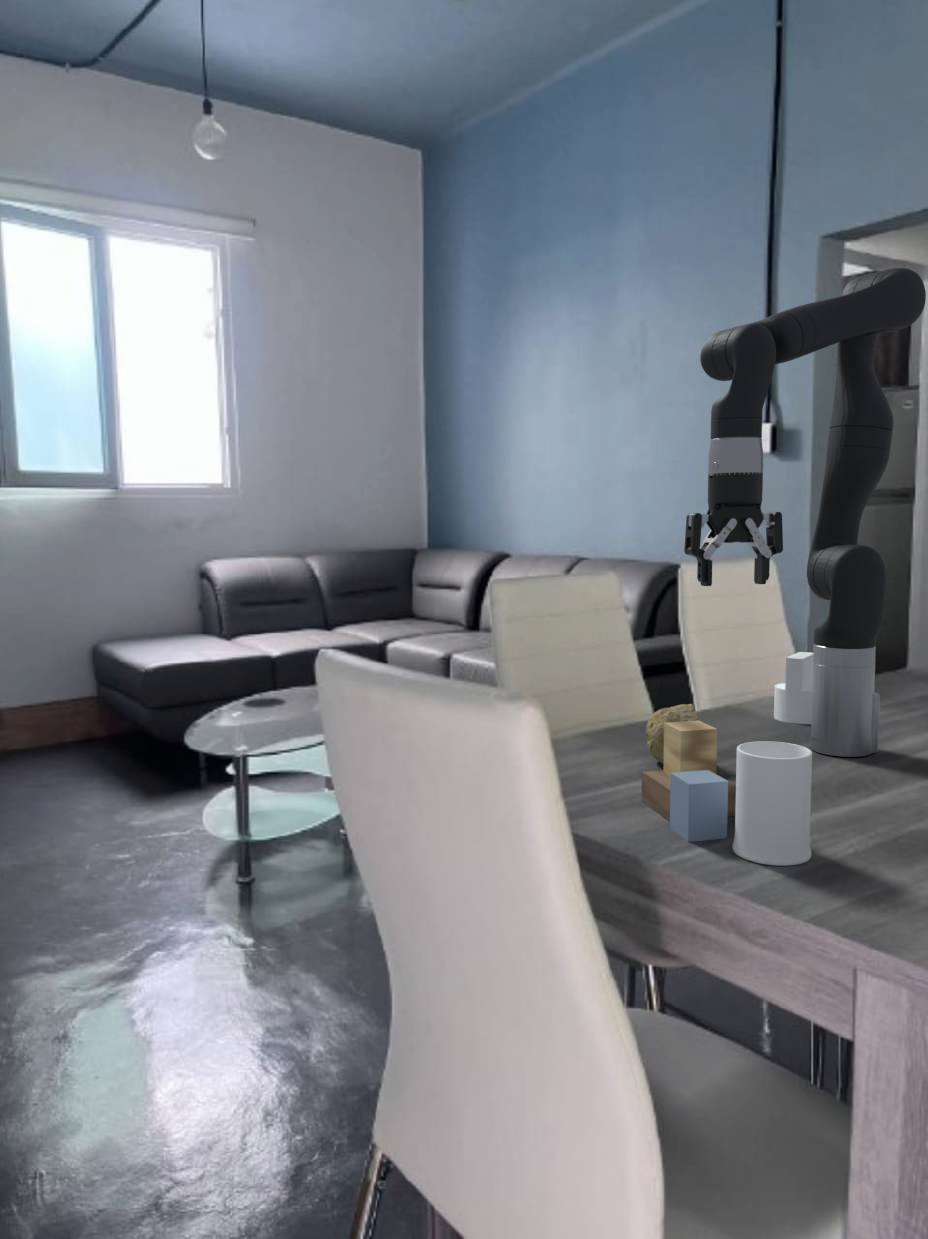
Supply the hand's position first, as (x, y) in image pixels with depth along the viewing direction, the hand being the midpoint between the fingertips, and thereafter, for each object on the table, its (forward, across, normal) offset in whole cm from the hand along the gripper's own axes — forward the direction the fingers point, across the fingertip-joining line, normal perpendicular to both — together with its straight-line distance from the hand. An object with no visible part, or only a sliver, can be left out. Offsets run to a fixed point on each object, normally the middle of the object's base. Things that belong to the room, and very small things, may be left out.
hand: (733, 584), depth 134 cm
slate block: (+28, +16, +22) cm, 39 cm away
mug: (+28, +10, +29) cm, 42 cm away
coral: (+28, +5, -8) cm, 30 cm away
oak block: (+24, +13, +13) cm, 30 cm away
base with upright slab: (+28, -31, -31) cm, 52 cm away
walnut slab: (+28, +13, +13) cm, 34 cm away
